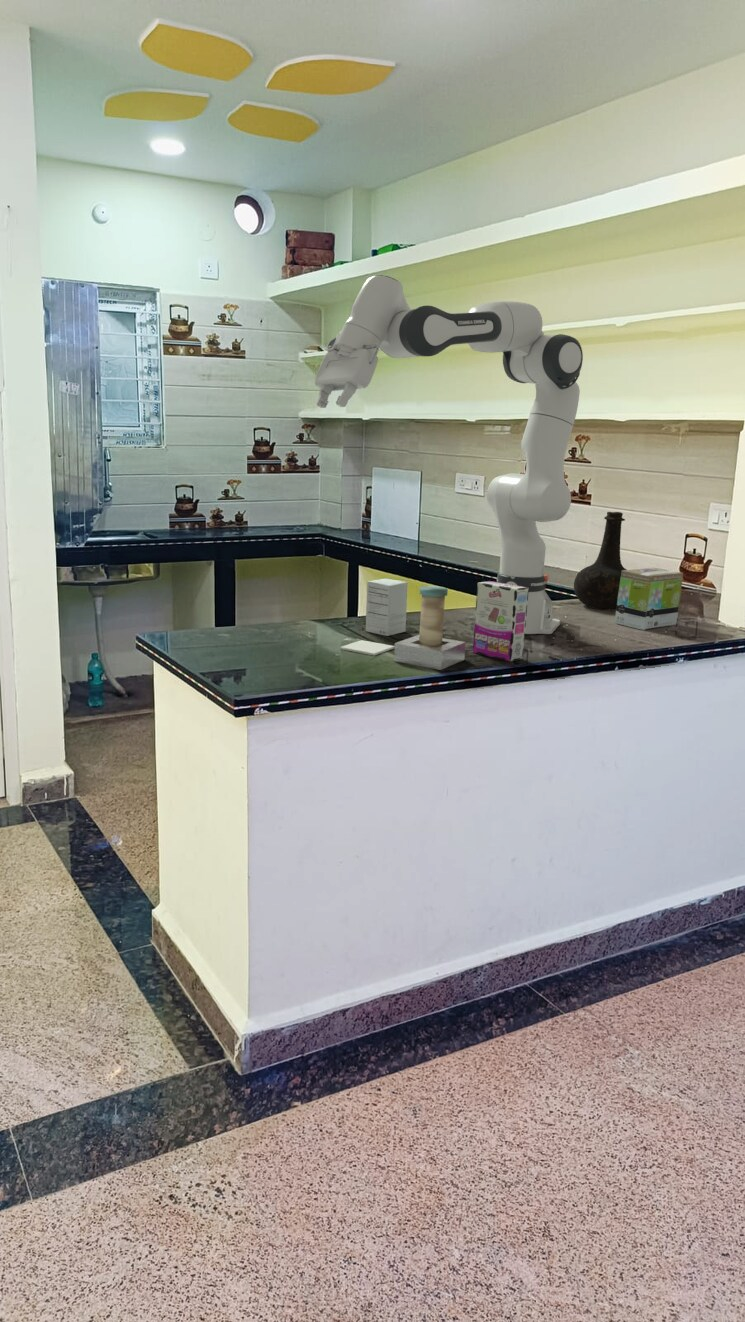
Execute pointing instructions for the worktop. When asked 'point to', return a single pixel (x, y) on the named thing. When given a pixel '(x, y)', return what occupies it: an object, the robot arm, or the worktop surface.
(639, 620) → the tea box
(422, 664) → the metal collar
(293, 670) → the worktop surface
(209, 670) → the worktop surface
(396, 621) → the supplement box
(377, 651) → the white mat
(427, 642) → the birch stopper
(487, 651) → the candy bar box
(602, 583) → the glass bottle
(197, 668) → the worktop surface
